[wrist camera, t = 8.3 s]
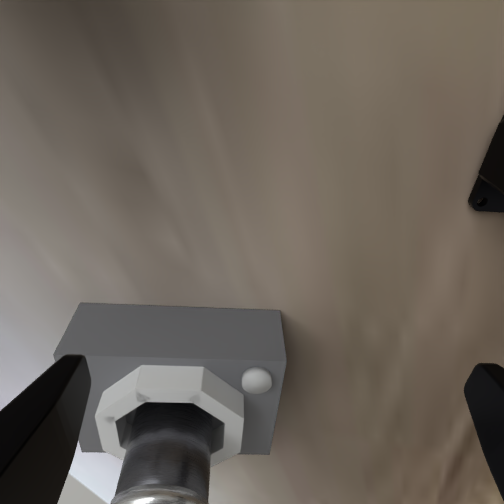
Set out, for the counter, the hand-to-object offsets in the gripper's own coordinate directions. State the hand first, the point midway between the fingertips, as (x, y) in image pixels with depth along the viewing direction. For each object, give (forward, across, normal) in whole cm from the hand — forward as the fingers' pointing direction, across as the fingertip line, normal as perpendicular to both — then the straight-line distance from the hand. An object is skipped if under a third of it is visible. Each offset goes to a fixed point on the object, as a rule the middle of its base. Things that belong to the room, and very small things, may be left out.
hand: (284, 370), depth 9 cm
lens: (+8, +4, +13) cm, 16 cm away
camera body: (+12, +4, +13) cm, 18 cm away
